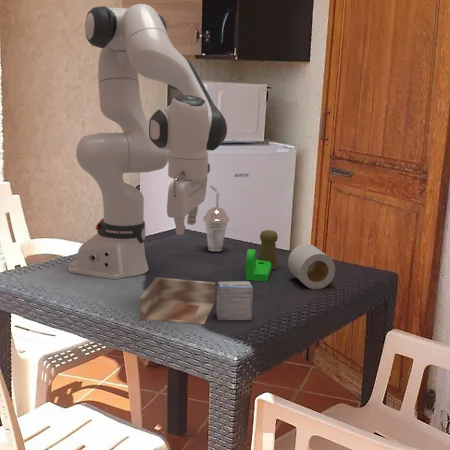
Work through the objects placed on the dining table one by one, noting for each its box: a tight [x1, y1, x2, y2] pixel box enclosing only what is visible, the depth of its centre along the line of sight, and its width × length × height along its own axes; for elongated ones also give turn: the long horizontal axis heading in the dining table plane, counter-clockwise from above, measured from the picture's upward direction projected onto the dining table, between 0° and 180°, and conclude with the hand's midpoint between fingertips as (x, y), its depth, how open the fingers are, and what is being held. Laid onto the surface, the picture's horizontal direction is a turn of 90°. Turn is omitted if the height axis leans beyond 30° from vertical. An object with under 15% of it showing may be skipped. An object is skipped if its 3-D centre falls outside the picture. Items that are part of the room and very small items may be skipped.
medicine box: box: [215, 280, 254, 321], centre depth 156 cm, size 8×4×9 cm, turn 98°
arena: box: [139, 276, 216, 326], centre depth 159 cm, size 15×15×6 cm
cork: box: [257, 229, 279, 271], centre depth 198 cm, size 6×6×11 cm
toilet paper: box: [287, 243, 336, 290], centre depth 184 cm, size 10×10×10 cm
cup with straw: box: [202, 185, 230, 252], centre depth 213 cm, size 8×9×20 cm
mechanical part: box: [244, 248, 272, 283], centre depth 190 cm, size 12×6×8 cm, turn 169°
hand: (186, 228), depth 153 cm, fingers open, 8 cm apart
